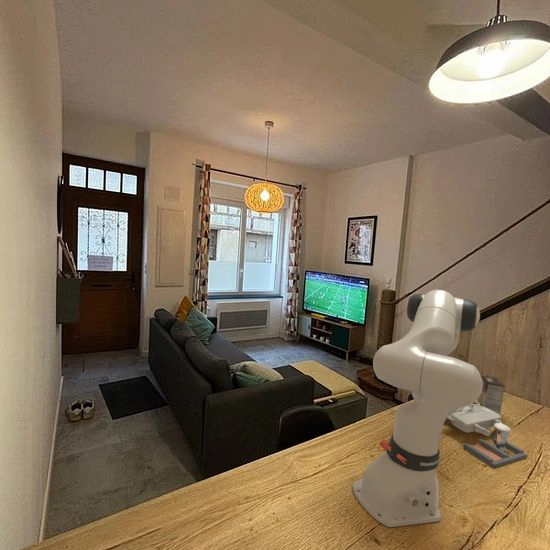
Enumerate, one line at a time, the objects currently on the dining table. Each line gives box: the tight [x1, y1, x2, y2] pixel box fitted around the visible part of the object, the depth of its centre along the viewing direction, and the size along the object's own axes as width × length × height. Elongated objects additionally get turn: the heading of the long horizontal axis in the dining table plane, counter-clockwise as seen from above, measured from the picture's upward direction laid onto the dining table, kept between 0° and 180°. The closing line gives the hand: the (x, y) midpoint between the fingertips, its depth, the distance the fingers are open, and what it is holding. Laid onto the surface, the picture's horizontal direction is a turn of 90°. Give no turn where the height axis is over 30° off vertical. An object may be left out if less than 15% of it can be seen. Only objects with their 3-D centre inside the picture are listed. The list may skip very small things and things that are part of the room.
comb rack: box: [462, 435, 528, 469], centre depth 106 cm, size 18×10×2 cm, turn 113°
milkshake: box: [492, 422, 514, 453], centre depth 108 cm, size 4×5×10 cm
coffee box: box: [477, 374, 506, 416], centre depth 132 cm, size 9×6×16 cm
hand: (498, 431), depth 109 cm, fingers open, 8 cm apart
